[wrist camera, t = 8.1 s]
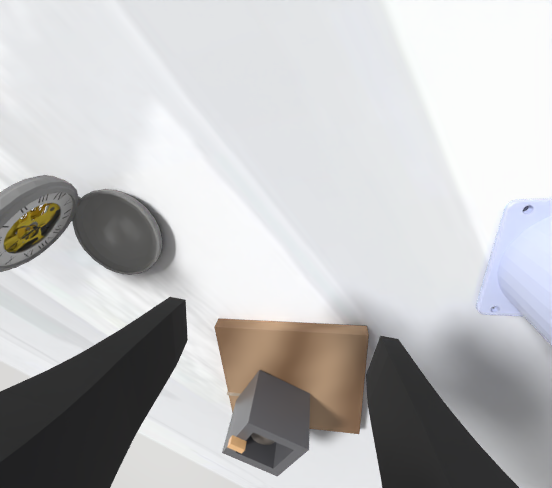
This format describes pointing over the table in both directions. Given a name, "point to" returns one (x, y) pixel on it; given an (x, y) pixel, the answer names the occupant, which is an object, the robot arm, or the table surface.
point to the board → (300, 365)
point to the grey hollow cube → (269, 424)
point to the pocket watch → (77, 225)
